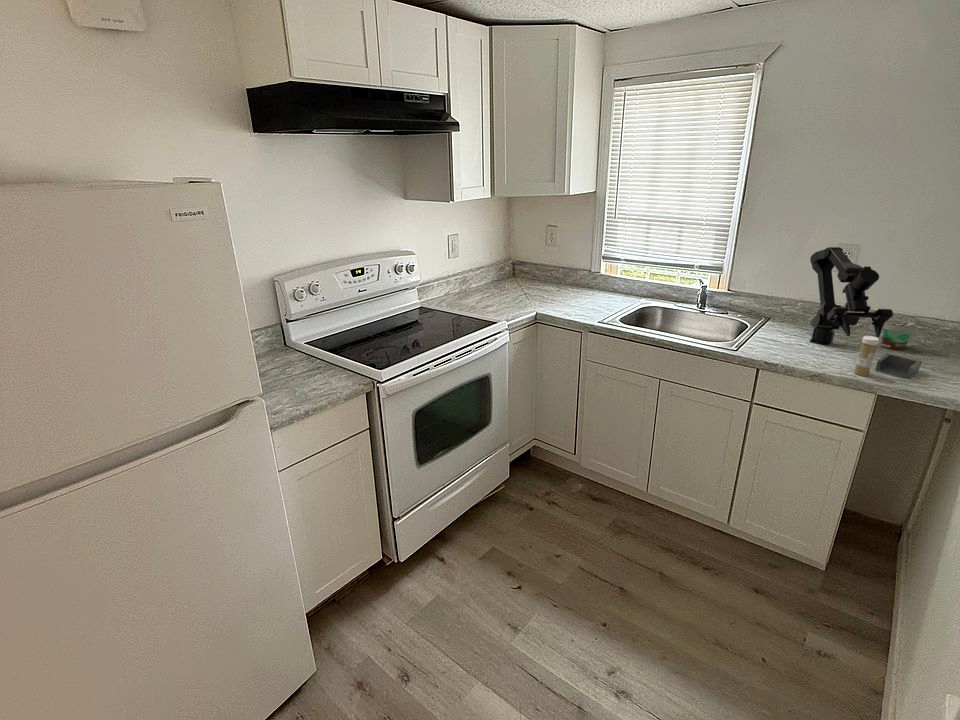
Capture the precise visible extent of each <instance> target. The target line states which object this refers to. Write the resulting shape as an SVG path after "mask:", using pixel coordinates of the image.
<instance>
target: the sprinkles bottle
mask: <svg viewBox="0 0 960 720" xmlns="http://www.w3.org/2000/svg"><path fill="white" fill-rule="evenodd" d="M879 343H880V338H879V337H876V336H873V335H872V336H871V335H865V336H863V337H862V340H861V346H860V350H859V353H858V356H857V360H856V362H855V368H854V370H853V374H855V375H857V376H861V377H868V376H869V375H870V371H871V368H872V365H873V362H874V358H875V355H876V351H877V349H878V345H879Z"/></svg>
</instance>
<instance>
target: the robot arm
mask: <svg viewBox="0 0 960 720" xmlns="http://www.w3.org/2000/svg"><path fill="white" fill-rule="evenodd" d="M809 259H810V260H809V261H810V264H811V267H812V270H813V271H814V272H815V273H816V274H817V281H818V283H817V284H818V293H819V303H820V307H819V308H818V309H817V312H816V315H815V316H814V317H813V318H812V319H811V321H810V326H811V327H813V331H812V336H811V339H809V342H811V343H815V344H819V345H823V346H828V345H830V344H832V343H833V342H834V339H835V338H834V337H835V335H836V333H835V330H839V329H840V328H841V330H842V331H843V333H844V334H846V336H847V337H850V336H851V326H856V325H857V324H858V322H859V320H860V318H865V319H866V318H867V319H869V318H870V319H871V325H873V327H874V334H875V337H877V338H879V337H880V336H881V333H882V331H883V328H884V326H885V324H886V323H887V322H888V321H889V320H890V319H891V318H893V317H894V311H893V310H892V309H891V308H878V309H877V310H876V311H871V312H870V310H871V306H870V305H869V304H868V300H869V296H868V295H866V291H868V290H869V289H871V287H872V286H873V285H874V284H875V283H877V282H878V280H879V279H880V274H879V273H878V272H877V271H876V270H874V269H872V267H871V266H863V267H862V266H861V265H860V264H856V263H854V262H852V261H851V260H850V259H849V257H848V256H847V255H846V253H844V249H843V248H842V247H839V246H830V247H829V246H828V247H826V248H824V249H821V250H818V251H815V252H814V253H813V254H812V255H811V256H810V258H809ZM834 267H835V268H836V270H837V271H838V273H837V278H838V280H839V283H844V284H845V283H846V285H845V286H844V288H843V289H842V294H845V300H846V302H845V304H844V307H842V306H841V305H838V304H837V303H836V302H835V301H836V299H835V292H834V291H835V290H834V282H833V280H834V279H833V269H834Z"/></svg>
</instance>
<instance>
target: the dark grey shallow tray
mask: <svg viewBox="0 0 960 720" xmlns="http://www.w3.org/2000/svg"><path fill="white" fill-rule="evenodd" d="M922 363H923V361H922V360H918V359H913V358H910V357H904V356H900V355H896V354H891V353H886V354H884V355H883V356H882V357H880V358H879V359H877V362H876V366H875V369H874V371H875V370H876V371H875V372H879V371H880V372H879V373H882V374H883V373H884V374H887V375H890V376H891V375H892V376H896V377H898V376H899V378H902V377H903V378H904V379H906V378H907V380H911V379H912V378H914V376H916V375H917V374H918V373H919V372H920V368H921V365H922ZM917 372H918V373H917ZM916 373H917V374H916ZM910 378H911V379H910Z"/></svg>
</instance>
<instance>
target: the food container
mask: <svg viewBox="0 0 960 720" xmlns="http://www.w3.org/2000/svg"><path fill="white" fill-rule="evenodd" d="M882 330H883V334H882V338H881V339H882V340H881V344H880V348H881V347H882V348H881V349H885V348H886V349H885V350H890V349H891V350H890V351H904V350H905V349H906V347H907V345H908V342H909V340H910V337H911V335H912V333H913V332H915V331H916V325H915V323H914V322H913V321H910V320H907V321H906V322H901V323H900V322H898V323H893V324H889V323H884V325H883V327H882Z"/></svg>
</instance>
